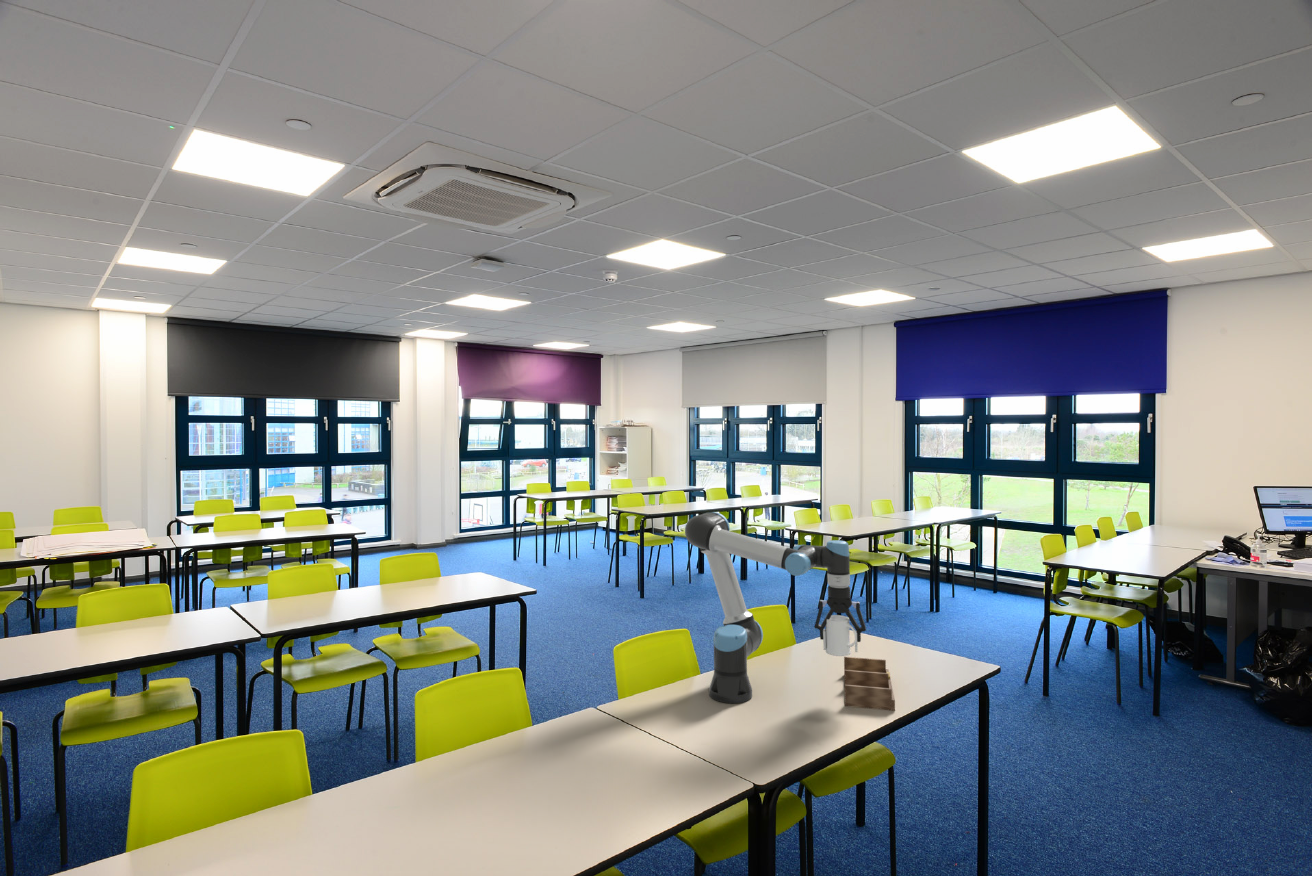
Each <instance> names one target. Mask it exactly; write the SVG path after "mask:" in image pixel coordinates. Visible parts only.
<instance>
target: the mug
mask: <svg viewBox="0 0 1312 876" xmlns="http://www.w3.org/2000/svg"><path fill="white" fill-rule="evenodd" d="M825 618H826V616H825ZM825 618H824V619H825ZM825 629H826V650H825V653H826V654H827V655H830V656H833V657H834V656H835V657H848V656H849V655H851V654H852V651H851V648H852V647H855V643H856V641H857V634H856V630H855V628H854V626H853V625H851V624H850V619H849V618H848V616H847V615H845V616H844V615H839V614H832V615H831V617H830V619H829V620H828V619H827V624H826V626H825ZM850 629H851V630H852V632H853V635H854V641H853V642H852V643H851V637H850Z"/></svg>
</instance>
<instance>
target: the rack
mask: <svg viewBox="0 0 1312 876" xmlns="http://www.w3.org/2000/svg"><path fill="white" fill-rule="evenodd" d="M843 659H844V661H843V667H844V669H843V670H844V671H843V672H844V673H843V674H844V681H843V682H844V706H845V707H851V708H860V709H861V708H862V709H863V708H864V709H872V710H875V709H876V710H881V711H882V710H883V711H896V699H895V698H896V697H895V694H894V690H893V685H892V681H891V672H890V670H889V669H888V668H887V667H886V666H887V665H886V663H887V662H886V661H887V660H886V659H882V658H881V659H879V658H878V659H877V658H868V657H867V658H866V657H856V656H855V657H852V656H843Z"/></svg>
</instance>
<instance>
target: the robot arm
mask: <svg viewBox="0 0 1312 876" xmlns="http://www.w3.org/2000/svg"><path fill="white" fill-rule="evenodd" d="M684 535H685V538H686V540H687V542H688V543H690V544H691V545H692V546H693V547H696V548H699V549H700V552H701V553H703V554H704V555H706V558H707V561H708V565H709V569H710V572H711V574H712V578H713V582H714V585H715V588H716V591H717V595H718V597H719V600H720V604H721V607H722V608H721V609H722V611H723V614H724V619H723V621H722V625H721V626H719V627H718V628H716V629H715V631H714V633H713V639H712V641H713V676H712V679H711V680H710V681H711V682H710V685H709V692H708V693H709V697H710V698H711V699H713V700H714V701H716V702H719V703H724V704H726V703H727V704H740V703H744V702H747V701H749V700H751V699H752V697H753V688H752V685H751V682H750V679H749V675H748V657H749V656H750V655H751V654H753V653H754V652H756V651H757V650H758V648H759V647H760V646H761V644H762V642H763V639H764V632H763V628H762V626H761V625H760V624H759V622H758V621H757V620H755V618H754V614H753V613H752V612H750V611H749V610H748V609H747V605H746V603H745V599H744V596H743V593H742V590H741V586H740V584H739V583H740V582H739V580H738V577H737V573H736V570H735V567H734V564H733V561H732V558H731V555H734V556H737V557H740V558H745V559H748V560H751V561H754V562H758V563H760V564H764V565H768V566H770V567H771V566H772V567H775V568H779V569H782V570H786V571H787V573H789V574H790V575H792V576H795V577H797V576H798V577H799V576H802V575H805V574H806V573H808V572H809V571H810V570H811V569H813V568H821V569H822V568H823V569H827V571H826V572H827V573H826V574H827V585H828V586H827V599H826V600H825V599H824V600H823V599H819V601H818V606H819V608H818V612H817V616H816V619H815V623H814V627H813V628H815V629H817V630H818V631H819V639H820V640H822V641H823V650H824V651H826V624H827V619H828V620H829V619H830V617H831V615H834V613H835V614H838V613H839V614H840V613H841V614H845V616H846V617H848V618H849V622H850V623H851V624H852V625H851V626H852V627H853V628H854V630H855V631H856V634H857V641H856V643H855V645H854V653H859V652H858V651H859V650H858V643H861V641H862V637H861V636H862V634H861V633H862V632H866V630H867V626H866V624H865V620H864V617H863V613H862V611H861V607H860V606H861V602H860V601H852V600H851V587H850V585H851V574H850V572H851V571H850V568H851V567H850V555H851V554H850V547H849V543H848V542H847V541H845V540H839V539H838V540H835V539H834V540H828V541H826V545H809V544H808V545H807V544H796V545H794V546H793V548H790V547H788V546H784V545H780V544H777V543H773V542H769V541H766V540H763V539H759V538H755V537H751V536H748V535H745V534H741V533H737V532H735V531H734V532H733V531H731V530H730V523H729V520H728V519H727V517H725V516H724V515H723V514H721V513H720V512H717V511H716V512H715V511H709V512H705V513H702V514H698V515H695V516H693V517H691V518H690V519H688V521H687V522H686V524H685V529H684ZM826 605H828V607H829V610H828V612H827V614H826V616H825V617H826V618H824V620H823V621H822V623H821V624H820V620H821V618H822V615H823V614H822V613H823V610H824V608H825V607H826ZM852 606H853V608H854V609H855V611H856V615H857V618H858V621H859V624H860V626H859V624H858V623H857V620H856V619H855V618H854V615H853V613H852V612H851V610H850V608H851V607H852Z"/></svg>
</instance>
